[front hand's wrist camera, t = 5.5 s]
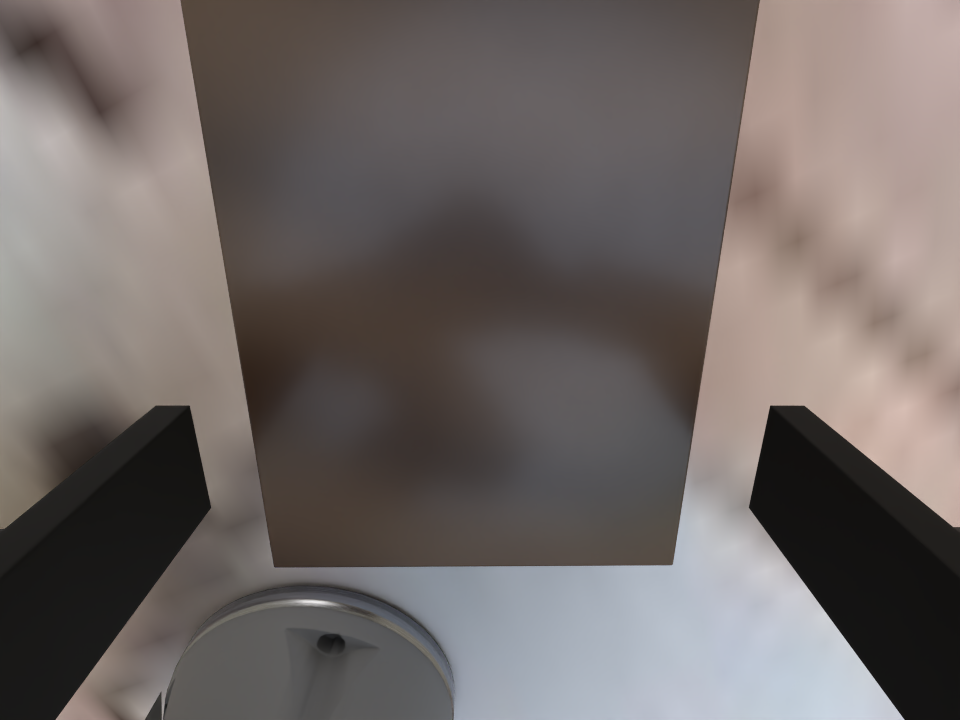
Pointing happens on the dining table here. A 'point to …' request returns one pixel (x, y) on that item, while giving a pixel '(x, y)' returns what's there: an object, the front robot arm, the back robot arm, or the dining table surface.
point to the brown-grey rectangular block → (471, 265)
